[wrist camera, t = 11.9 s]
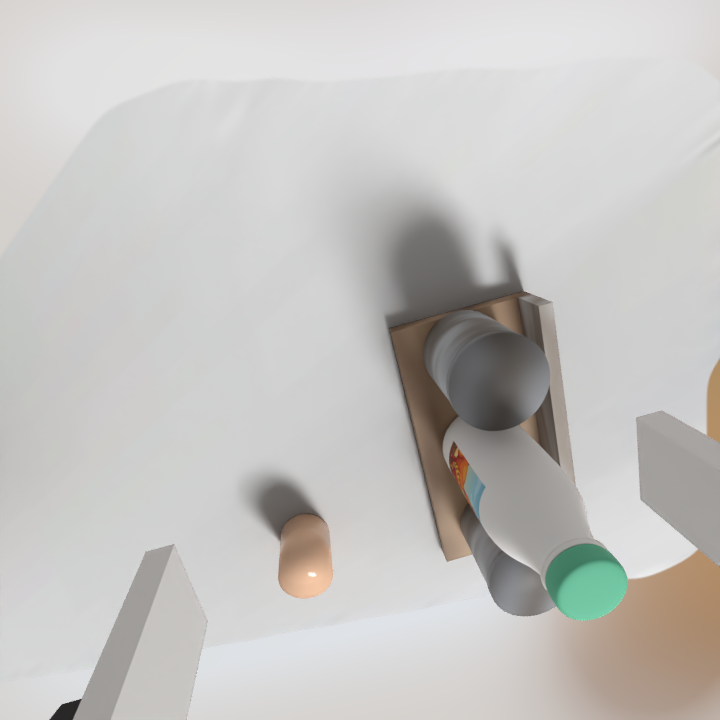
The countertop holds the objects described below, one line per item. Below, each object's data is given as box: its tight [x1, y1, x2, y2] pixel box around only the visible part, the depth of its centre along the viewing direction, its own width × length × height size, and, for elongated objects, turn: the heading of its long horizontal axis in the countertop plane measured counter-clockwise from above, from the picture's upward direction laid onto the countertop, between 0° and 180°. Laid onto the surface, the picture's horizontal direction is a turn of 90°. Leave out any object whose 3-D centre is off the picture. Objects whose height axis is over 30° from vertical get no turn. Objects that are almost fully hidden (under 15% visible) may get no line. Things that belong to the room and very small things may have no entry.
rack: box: [389, 291, 576, 616], centre depth 45 cm, size 13×27×10 cm, turn 14°
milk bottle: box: [443, 416, 627, 620], centre depth 39 cm, size 8×8×20 cm
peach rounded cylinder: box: [278, 514, 333, 598], centre depth 48 cm, size 5×5×6 cm
